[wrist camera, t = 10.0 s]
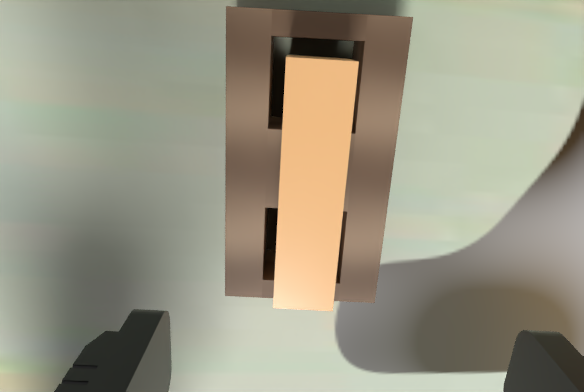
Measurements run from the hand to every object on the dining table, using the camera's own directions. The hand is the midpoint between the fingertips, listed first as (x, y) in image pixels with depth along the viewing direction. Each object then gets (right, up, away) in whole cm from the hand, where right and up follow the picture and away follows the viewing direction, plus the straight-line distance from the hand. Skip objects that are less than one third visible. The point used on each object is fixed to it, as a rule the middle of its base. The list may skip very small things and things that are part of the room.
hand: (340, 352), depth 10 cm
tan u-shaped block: (0, +6, +17) cm, 19 cm away
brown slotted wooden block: (0, +6, +17) cm, 19 cm away
